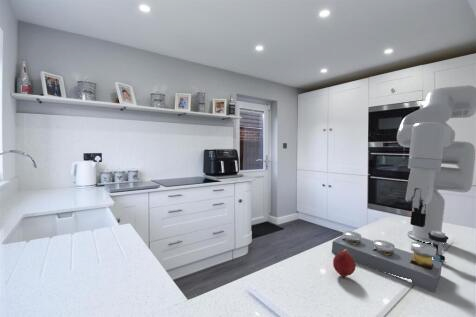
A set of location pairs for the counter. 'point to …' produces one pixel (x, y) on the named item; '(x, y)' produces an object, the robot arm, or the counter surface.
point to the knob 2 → (423, 254)
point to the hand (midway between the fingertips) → (417, 225)
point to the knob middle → (383, 247)
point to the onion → (344, 263)
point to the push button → (438, 244)
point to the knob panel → (391, 262)
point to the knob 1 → (352, 237)
